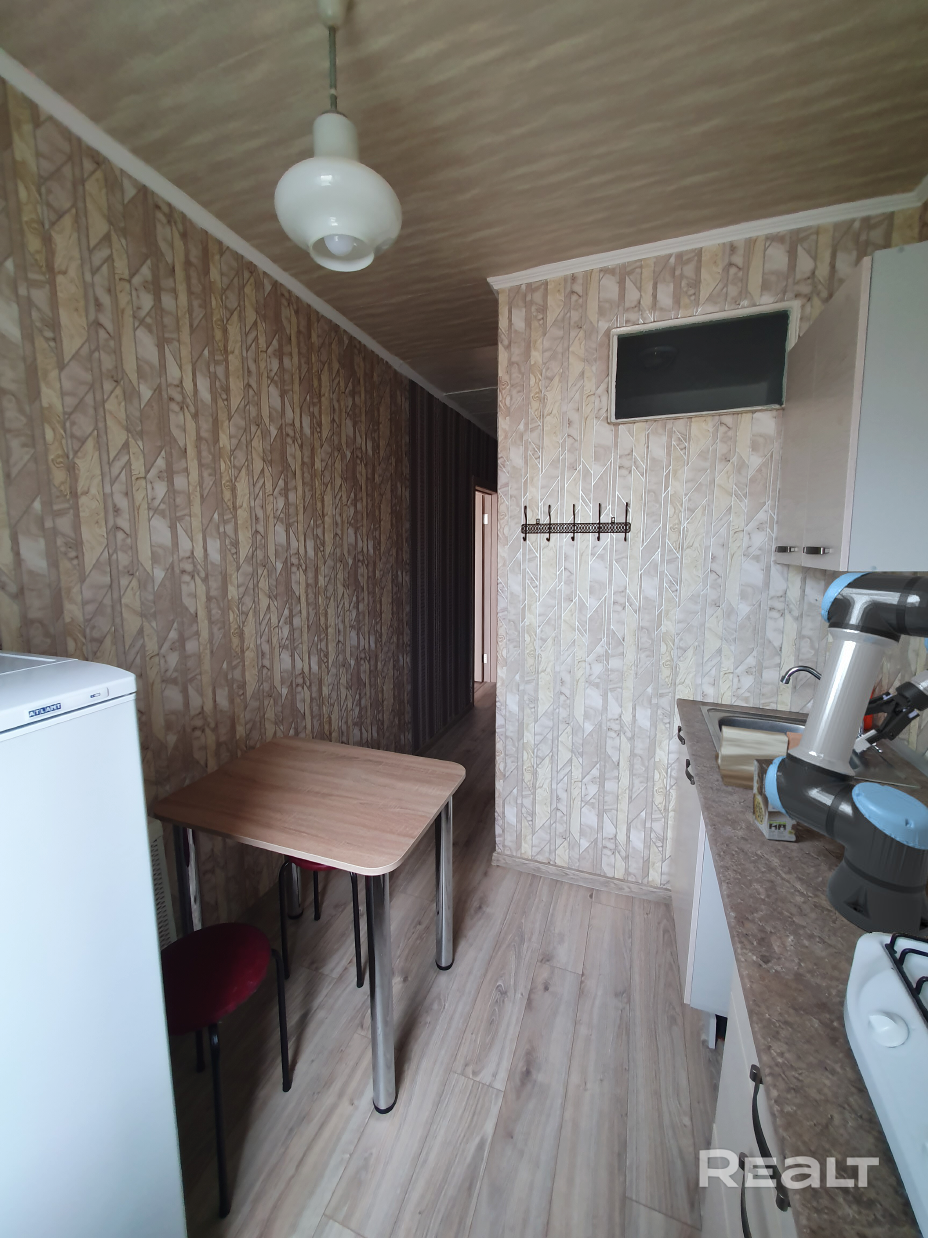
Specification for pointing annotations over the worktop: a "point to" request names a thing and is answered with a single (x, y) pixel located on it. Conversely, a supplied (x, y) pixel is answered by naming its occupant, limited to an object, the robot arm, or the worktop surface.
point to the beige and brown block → (746, 753)
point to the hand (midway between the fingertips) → (843, 737)
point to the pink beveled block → (793, 740)
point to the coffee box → (769, 808)
